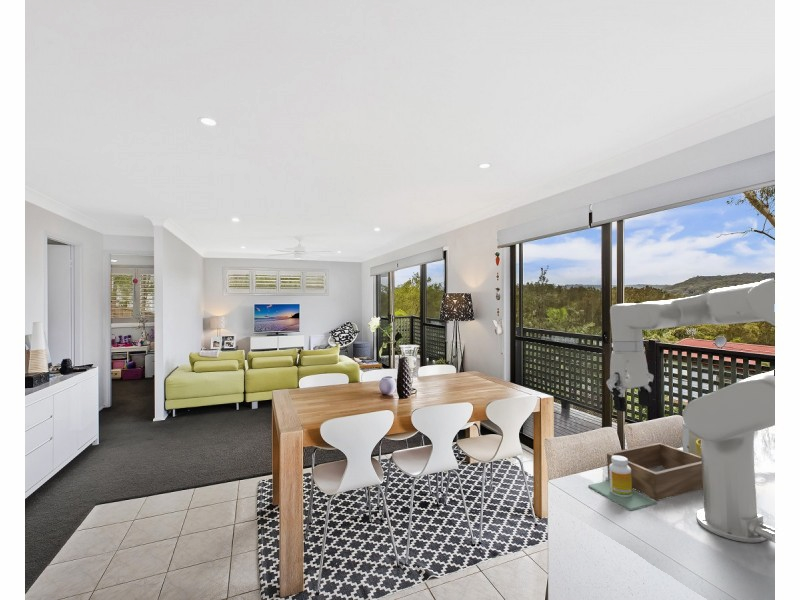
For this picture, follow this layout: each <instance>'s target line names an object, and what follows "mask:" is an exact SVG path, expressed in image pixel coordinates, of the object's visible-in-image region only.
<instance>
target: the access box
mask: <svg viewBox="0 0 800 600" xmlns="http://www.w3.org/2000/svg"><path fill="white" fill-rule="evenodd" d="M614 455H619V456H623V457H626V458H627V459H628V466H629V467H630V468H631V477H632V489H633V488H634V489H633V490H635V489H636V490H635V491H637V490H638V491H637V492H639V491H640V492H639V493H640V494H642V495H644V496H646V497H648V498H650V499H652V500H654V501H656V502H658V501H660V500H661V501H662V500H664V499H668V498H673V497H676V496H680V495H683V494H687V493H690V492H695V491H698V490H703V480H702V461H701V457H700V456H697V455H694V454H691V453H689V452H686V451H683V449H680V448H677V447H674V446H671V445H668V444H665V443H661V442H656V443H651V444H650V443H649V444H647V445H646V444H645V445H641V446H637V447H631V448H626V449H621V450H617V451H612V452H607V453H606V462H607V464H606V465H607V477H609V478H610V476H609V465H610V464H611V463H612V461H611V457H612V456H614ZM657 467H658V468H659V467H663V468H666V469H662V470H658V471H653V470H650V469H653V468H657Z"/></svg>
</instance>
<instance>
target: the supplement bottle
mask: <svg viewBox="0 0 800 600" xmlns="http://www.w3.org/2000/svg"><path fill="white" fill-rule="evenodd" d="M611 461H612V463H611V464H610V465H609V476H610V477H609V480H610V491H611V492H612V493H613V494H614V495H617V496H620V497H630V496H632V490H633V488H632V477H631V468H630V467H629V466H628V459H627V458H626V457H623V456H619V455H614V456H612V457H611Z"/></svg>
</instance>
